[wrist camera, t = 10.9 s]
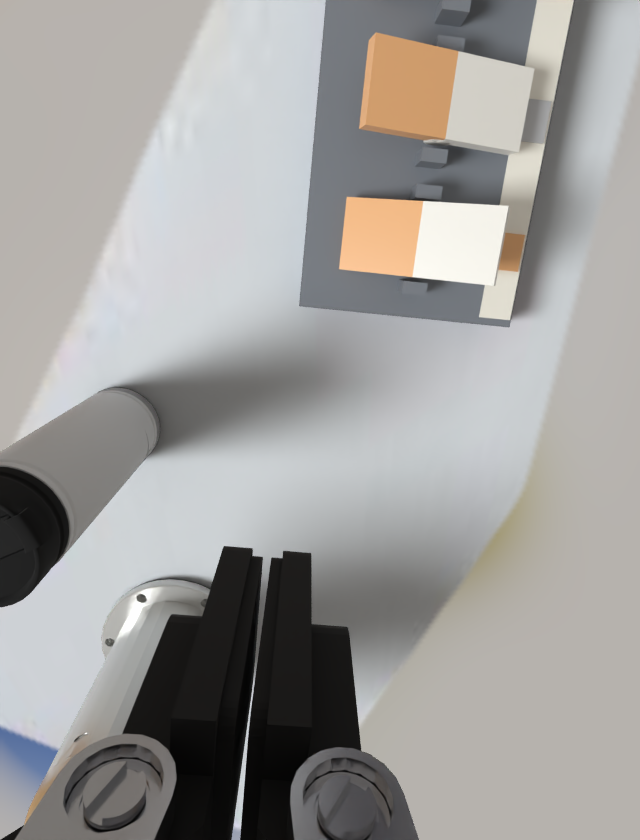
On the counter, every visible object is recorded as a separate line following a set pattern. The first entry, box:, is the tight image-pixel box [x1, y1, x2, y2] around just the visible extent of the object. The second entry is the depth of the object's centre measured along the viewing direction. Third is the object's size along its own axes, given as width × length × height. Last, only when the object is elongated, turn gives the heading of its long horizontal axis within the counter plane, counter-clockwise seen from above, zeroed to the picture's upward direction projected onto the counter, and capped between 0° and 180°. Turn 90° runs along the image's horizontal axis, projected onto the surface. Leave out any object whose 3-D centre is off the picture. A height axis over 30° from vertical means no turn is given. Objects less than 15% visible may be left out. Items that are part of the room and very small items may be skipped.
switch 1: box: [359, 32, 534, 155], centre depth 32 cm, size 4×10×2 cm, turn 84°
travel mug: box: [0, 388, 160, 607], centre depth 33 cm, size 6×7×20 cm
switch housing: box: [299, 0, 575, 327], centre depth 34 cm, size 26×15×5 cm, turn 174°
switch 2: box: [339, 197, 510, 286], centre depth 34 cm, size 4×10×2 cm, turn 84°
